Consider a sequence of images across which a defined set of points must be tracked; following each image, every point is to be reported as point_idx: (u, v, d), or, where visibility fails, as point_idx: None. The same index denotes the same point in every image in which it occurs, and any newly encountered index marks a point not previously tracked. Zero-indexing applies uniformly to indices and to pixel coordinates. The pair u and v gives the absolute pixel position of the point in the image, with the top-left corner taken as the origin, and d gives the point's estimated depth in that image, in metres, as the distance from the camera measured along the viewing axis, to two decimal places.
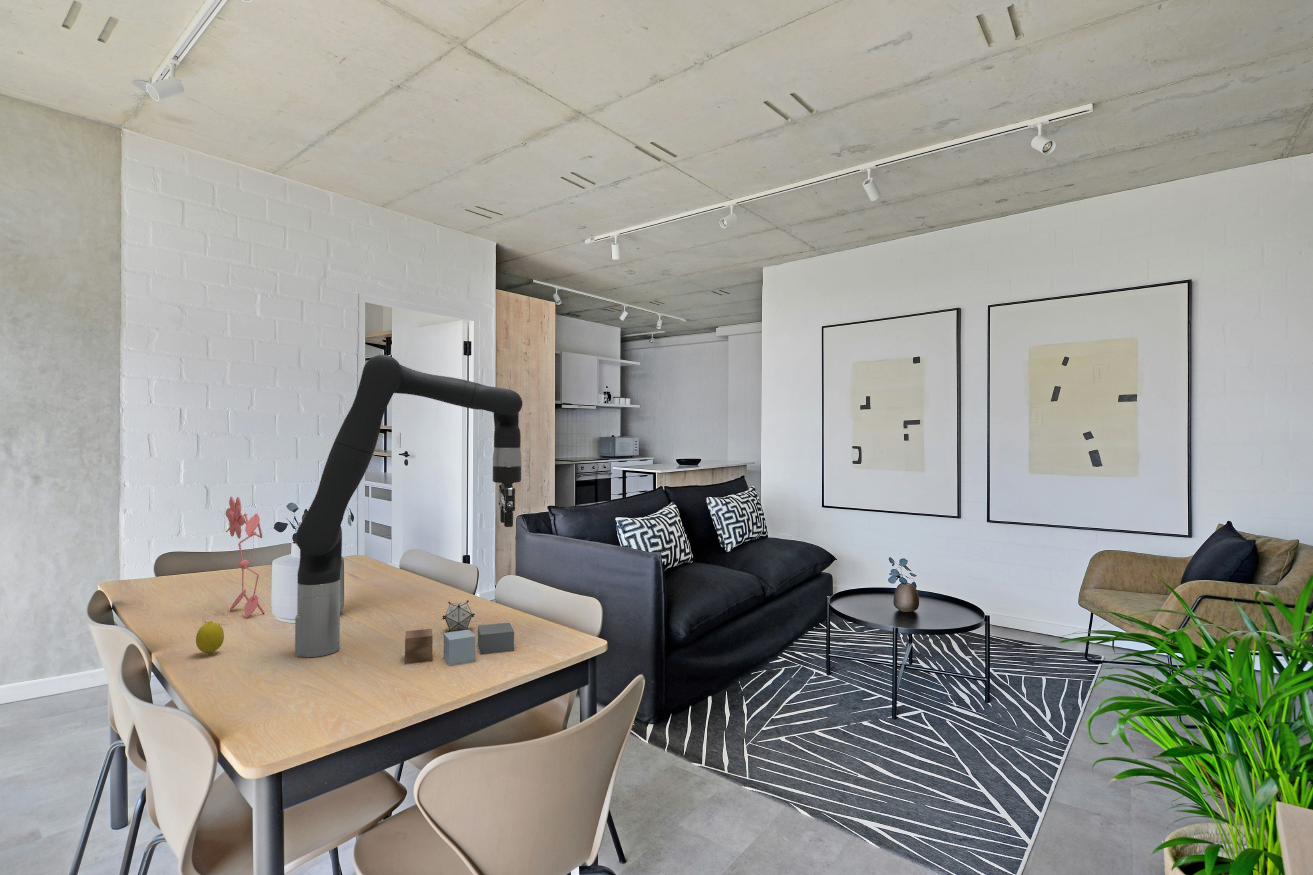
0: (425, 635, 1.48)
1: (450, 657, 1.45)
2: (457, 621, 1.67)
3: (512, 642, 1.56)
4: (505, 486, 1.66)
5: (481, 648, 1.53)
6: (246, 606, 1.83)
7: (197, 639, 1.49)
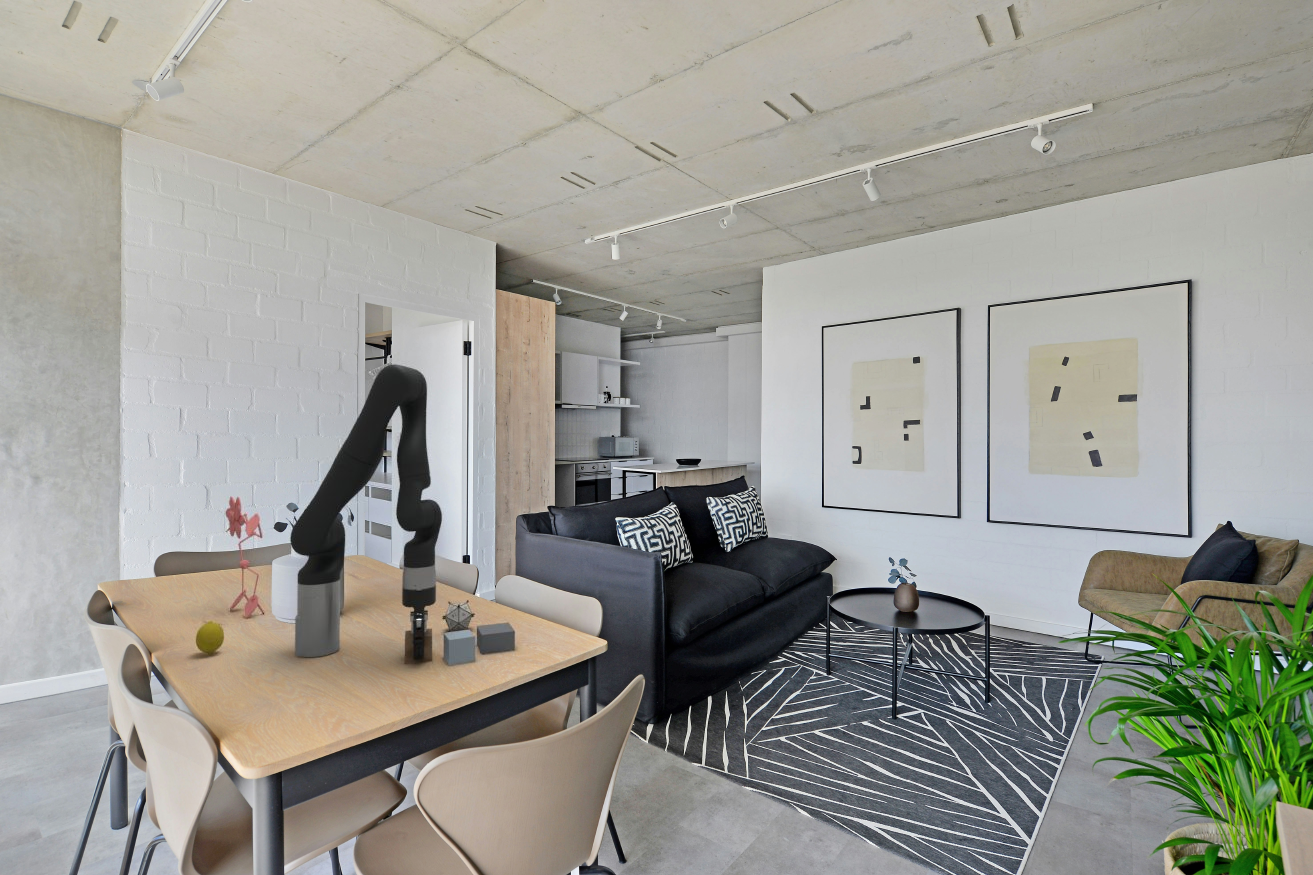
0: (425, 635, 1.48)
1: (450, 657, 1.45)
2: (457, 621, 1.67)
3: (513, 642, 1.56)
4: (415, 613, 1.46)
5: (482, 648, 1.53)
6: (246, 606, 1.83)
7: (197, 639, 1.49)
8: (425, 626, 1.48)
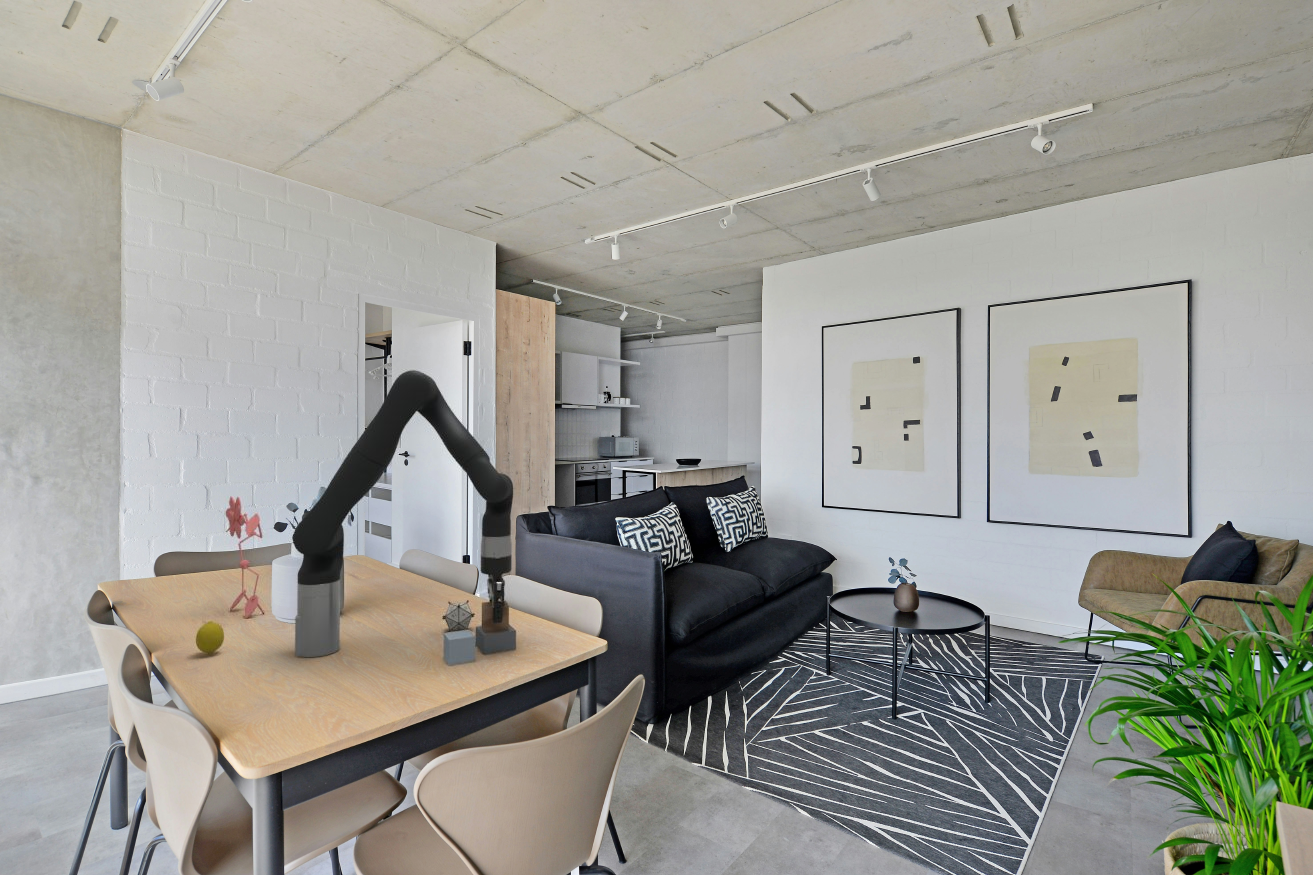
0: None
1: (450, 657, 1.45)
2: (457, 621, 1.67)
3: (514, 641, 1.56)
4: (494, 578, 1.54)
5: (484, 648, 1.53)
6: (246, 606, 1.83)
7: (197, 639, 1.49)
8: None
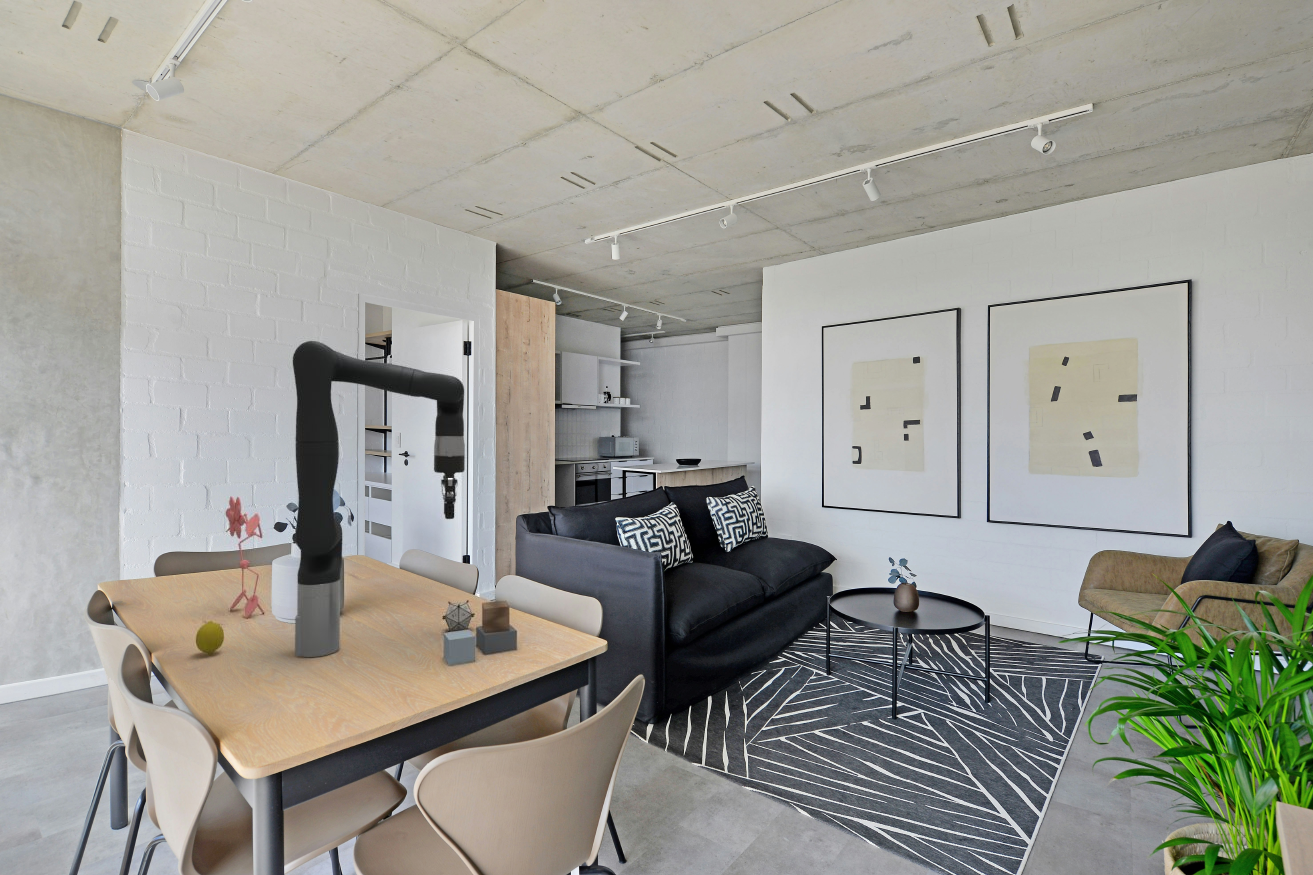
0: (502, 606, 1.56)
1: (450, 657, 1.45)
2: (457, 621, 1.67)
3: (515, 641, 1.56)
4: (446, 476, 1.59)
5: (485, 649, 1.53)
6: (246, 606, 1.83)
7: (197, 639, 1.49)
8: (455, 489, 1.60)
